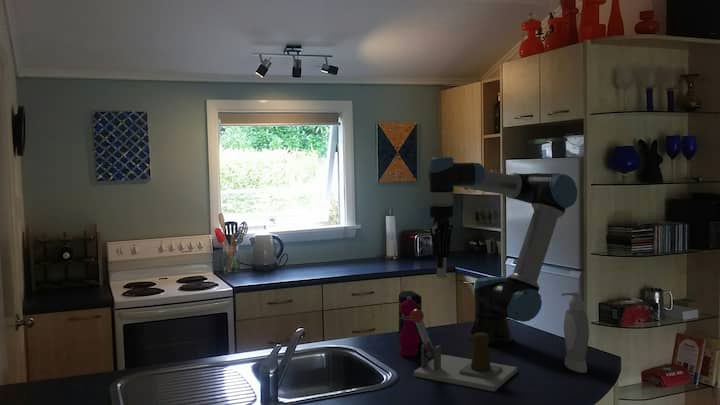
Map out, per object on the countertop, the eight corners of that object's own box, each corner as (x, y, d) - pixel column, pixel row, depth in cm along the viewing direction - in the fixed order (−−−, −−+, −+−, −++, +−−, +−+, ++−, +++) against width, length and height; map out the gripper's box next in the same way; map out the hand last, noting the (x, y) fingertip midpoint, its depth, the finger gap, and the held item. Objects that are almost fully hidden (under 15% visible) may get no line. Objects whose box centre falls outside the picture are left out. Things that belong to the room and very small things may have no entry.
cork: (490, 372, 195) (491, 336, 195) (470, 371, 197) (470, 335, 196) (490, 366, 201) (491, 331, 200) (471, 364, 202) (471, 330, 202)
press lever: (428, 350, 206) (411, 305, 195) (440, 352, 204) (423, 307, 193) (424, 360, 204) (406, 315, 193) (435, 362, 201) (418, 316, 191)
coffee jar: (424, 345, 232) (424, 294, 231) (402, 346, 231) (402, 295, 230) (417, 337, 242) (417, 288, 241) (396, 339, 241) (396, 289, 239)
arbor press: (441, 358, 217) (441, 333, 216) (516, 371, 203) (517, 345, 203) (413, 376, 200) (413, 349, 199) (494, 391, 186) (494, 362, 186)
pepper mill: (396, 355, 221) (395, 297, 220) (402, 349, 228) (402, 293, 227) (416, 357, 219) (416, 298, 217) (422, 351, 225) (422, 294, 224)
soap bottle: (550, 363, 211) (551, 289, 210) (571, 361, 213) (572, 288, 211) (572, 376, 199) (573, 297, 197) (594, 374, 200) (596, 296, 199)
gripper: (439, 203, 216) (439, 273, 218) (422, 206, 205) (422, 279, 207) (460, 204, 212) (460, 275, 214) (443, 206, 201) (443, 281, 203)
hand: (441, 277), depth 210 cm, fingers closed
